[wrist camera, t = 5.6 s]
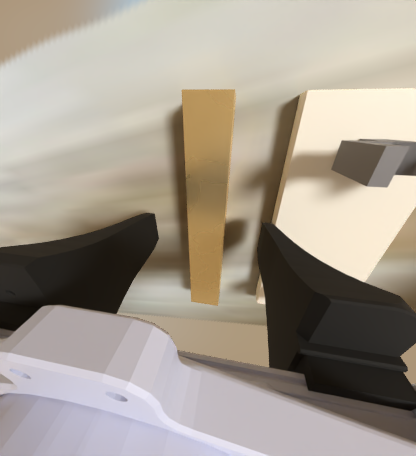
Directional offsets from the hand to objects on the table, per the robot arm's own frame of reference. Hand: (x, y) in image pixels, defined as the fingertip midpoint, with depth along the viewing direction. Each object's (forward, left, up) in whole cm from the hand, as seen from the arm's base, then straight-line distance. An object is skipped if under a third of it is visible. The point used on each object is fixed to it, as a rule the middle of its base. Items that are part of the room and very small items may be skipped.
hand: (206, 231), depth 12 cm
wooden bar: (0, 0, -2) cm, 2 cm away
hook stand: (-8, 0, -2) cm, 8 cm away
